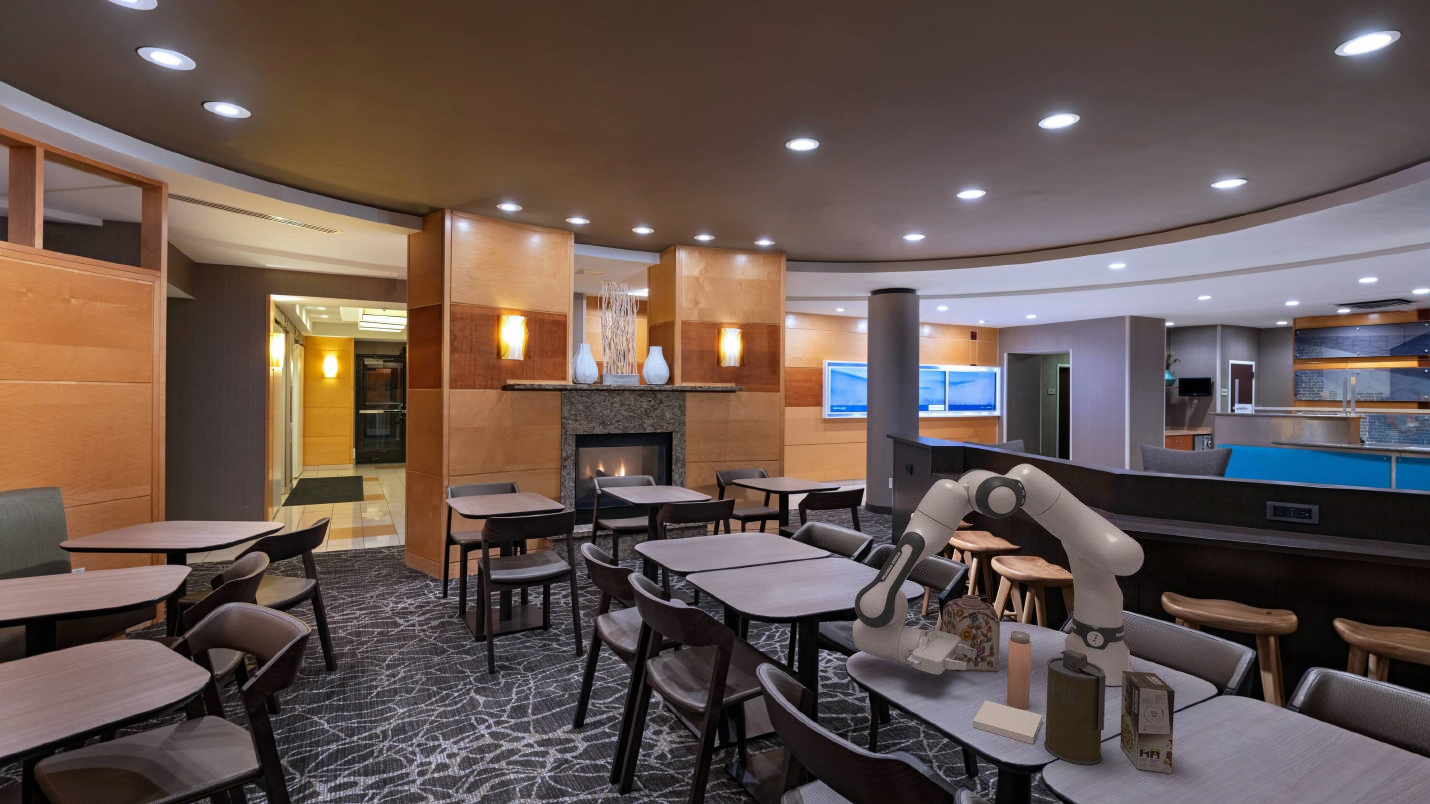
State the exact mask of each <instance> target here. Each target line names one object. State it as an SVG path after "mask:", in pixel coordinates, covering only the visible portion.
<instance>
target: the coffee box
mask: <svg viewBox="0 0 1430 804" xmlns="http://www.w3.org/2000/svg"><path fill="white" fill-rule="evenodd" d="M1175 692H1176V691H1175V690H1174V689H1173V688H1172V687H1171V686H1170V685H1169V684H1167V683H1166V682H1165V681H1164V680H1163V679H1162V678H1160V676H1159V675H1157V674H1156V673H1153V672H1146V671H1145V672H1144V671H1134V672H1129V671H1122V685H1121V701H1120V702H1121V703H1120V704H1121V705H1120V707H1121V708H1120V714H1121V715H1120V744H1119V745H1120V749H1121V750H1122V752H1124V754H1125V755H1126V756H1127V758H1128V759H1129V760H1130V762H1131V763H1132V765H1134V767H1135V768H1136V769H1137V770H1143V771H1149V772H1150V771H1151V772H1158V773H1164V774H1165V773H1166V774H1172V769H1173V768H1172V766H1173V765H1172V764H1173V742H1174V741H1173V740H1174V738H1173V737H1174V736H1173V735H1174V720H1175V719H1174V718H1175V717H1174V716H1175V715H1174V714H1175V694H1176V693H1175Z"/></svg>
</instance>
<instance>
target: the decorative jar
mask: <svg viewBox="0 0 1430 804" xmlns="http://www.w3.org/2000/svg"><path fill="white" fill-rule="evenodd" d="M941 625H942V627H941V629H942V630H941V631H942V632H946V633H950V634H954V635H957V636H959V637H960V638H961V644H964V645H965V646H967V647H969V648H972V649H976V650H977V655H976V657H975V658H972V657H968V655H965V654H957V656H956V657H955V658H954V659H953V660H956V661H959V660H963V661H966V662H967V668H966V670H964V671H965V672H966V671H967V672H968V671H970V672H996V673H997V672H999V667H1000V666H999V665H1000V650H1001V649H1000V645H1001V644H1000V642H1001V641H1000V640H1001V637H1000V635H1001V621H1000V619H999V615H998V614H997V611H996V609H995V608H994V607H993V605H991V604H990V603H988V602H985V601H983V600H982V599H981V596H978V595H975V594H974V595H973V594H964V595H963V596H962V598H955V599H952V600H950V601H948V602H947V603H946V604H945V605H944V606H943V609H942V624H941ZM954 670H955V671H961V670H960V669H954Z"/></svg>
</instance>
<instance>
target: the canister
mask: <svg viewBox="0 0 1430 804" xmlns="http://www.w3.org/2000/svg"><path fill="white" fill-rule="evenodd" d="M1060 654H1061V655H1063V656H1055V657H1051V658H1048V660H1047V661H1046V665H1047V677H1046V678H1047V679H1046V680H1047V684H1046V707H1045V708H1046V711H1045V739H1044V743H1043V745H1044V748H1045V750H1046V751H1048V753H1049V754H1051V756H1055V757H1056V758H1058V759H1060V760H1061V761H1062V760H1063V761H1066V762H1069V763H1071V764H1077V765H1081V766H1082V765H1083V766H1085V765H1095V764H1098V763H1100V762H1101V761H1102V759H1103V755H1102V753H1101V751H1102V750H1101V749H1102V731H1104V730H1105V706H1106V705H1105V704H1106V685H1105V681H1106V676H1105V673H1104V670H1103V669H1102V668H1101V667H1099V666H1097V665H1096V664H1093V663H1090V662H1088V660H1087V655H1085V654H1082V653H1077V652H1075V651H1072V650H1065V651H1064V650H1063V651H1061V652H1060Z"/></svg>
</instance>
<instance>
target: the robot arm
mask: <svg viewBox="0 0 1430 804" xmlns="http://www.w3.org/2000/svg"><path fill="white" fill-rule="evenodd" d="M1020 508H1021V509H1022V510H1023V511H1024V512H1026V514H1027V515H1029V517H1030V518H1033V519H1034V520H1035V522H1037V523H1038V524H1039V525H1040V526H1042V527H1043V529H1045V530H1046V531H1047V532H1049V533H1050V534H1051V535H1052V536H1054V537H1055V538H1057V539H1058V540H1060V541H1061V544H1062V548H1063V549H1064V551H1065V552H1066V555H1067V558H1068V562H1069V566H1070V572H1071V576H1072V580H1073V581H1072V583H1073V589H1074V591H1073V592H1074V597H1073V598H1074V600H1073V615H1072V618H1071V623H1070V625H1071V628H1070V630H1071V633H1069V634H1068V635H1066V636H1065V637H1064V643H1063V645H1064V646H1063V651H1065V650H1072V651H1075V652H1077V653H1082V654H1085V655H1087V660H1088V662H1090V663H1093V664H1096V665H1097V666H1099V667H1101V668H1102V669H1103V670H1104V673H1105V676H1106V681H1105V686H1108V687H1109V686H1111V687H1112V686H1113V687H1114V686H1117V687H1119V686H1122V671H1129V672H1135V671H1134V669H1133V667H1132V662H1131V661H1130V658H1131V657H1130V655H1131V653H1130V652H1131V651H1130V649H1129V647H1128V646H1127V644H1125V642H1124V639H1125V625H1124V624H1123V611H1124V610H1123V609H1124V596H1123V591H1122V590H1121V588H1120V587H1119V584H1118V582H1117V579H1116V576H1120V577H1121V576H1122V577H1127V576H1132V575H1134V574H1135V573H1137V572H1138V571H1139V570H1140V569H1141V567H1142V566H1143V563H1144V559H1145V554H1144V550H1143V548H1142V545H1141V544H1140V543H1139V542H1138V541H1136V540H1135V539H1134V538H1133V537H1130V535H1128V534H1127V533H1125V532H1124V531H1123V530H1121V529H1120V528H1118V527H1117V526H1116V525H1114V524H1113V523H1112V522H1110V521H1109V520H1107V519H1106V518H1105V517H1104V516H1102V515H1100V514H1099V513H1098V512H1096V511H1094V510H1093V509H1091V508H1090V507H1088V506H1087V505H1085V504H1084V503H1083V502H1081V501H1080V500H1079V499H1078V498H1077V497H1076V496H1075V495H1073V494H1072V493H1071V492H1070V491H1069V490H1068V489H1066V488H1065V487H1064V486H1062V485H1061V483H1059V482H1058V481H1057V480H1055V479H1054V478H1053V477H1051V476H1050V475H1049V474H1047V473H1046V472H1044V471H1043V470H1041V469H1039V468H1037V467H1035V466H1034V465H1032V464H1029V463H1021V464H1018V465H1016V466H1014V467H1012V468H1011V469H1010V470H1009V471H1008V472H1007V473H1006V474H1003V475H1002V474H1000V473H996V472H993V471H990V470H987V469H983V468H973V469H970V470H967V471H965V472H964V473H962V474H961V475H960V476H958V477H957V478H955V479H954V480H953V479H948V478H947V479H946V478H942V479H939V480H937V481H936V482H935V483H933V484H932V486H931V487H930V488H929V489H928V491H927V492H926V494H925V495H924V497H923V498H922V499H921V501H920V502H919V504H918V506H917V507H916V509H915V511H914V513H913V514H912V516H911V518H910V520H909V522H908V523H907V526H906V528H905V530H904V532H903V533H902V535H901V537H900V539H899V541H898V542H897V544H896V545H895V547H894V548H893V549H892V551H891V553H890V554H889V556H888V557H887V559H886V561H885V563H884V564H883V565H882V567H881V568H880V570H879V572H878V574H877V575H876V576H875V577H874V579H873V580H871V582H870V583H868V584H867V585H866V586H864V587H863V588H861V589H860V590H859V592H858V593H857V594H856V597H855V600H854V611H855V613H856V616H857V619H856V620H855V621H854V622H853V625H852V630H851V635H852V636H851V637H852V641H853V643H854V646H855V647H856V648H857V649H858V650H859V651H860V652H863V653H865V654H868V655H870V656H874V657H878V658H881V659H891V660H892V659H893V660H895V661H897V662H899V663H900V664H901V663H902V664H907V665H910V666H912V668H914V669H916V670H918V671H923V672H925V673H929V674H931V675H942V673H944V671H945V670H955V669H960V670H959V671H965V670H966V668H967V662H966V661H963V660H959V661H956V660H953V659H954V658H955V657H956V656H957V654H965V655H968V657H972V658H975V657H976V655H977V650H976V649H972V648H969V647H967V646H965V645H964V644H961V638H960V637H959V636H957V635H954V634H950V633H946V632H942V630H937V629H933V630H932V627H931V626H928V625H923V626H919V627H908V626H904V625H905V623H906V620H907V616H908V612H909V602H908V601H909V600H908V599H907V595H906V594H905V593H904V592H903V591H902V590H901V588H902V587H903V586H904V584H905V582H906V580H907V579H908V577H909V575H910V574H911V572H912V571H913V569H914V568H915V567H916V566H917V565H918V564H919V563H921V562H922V561H923V560H925V559H927V558H929V557H931V556H933V555H936V554H938V553H940V552H942V551H943V549H944V548H945V547H946V546H947V544H948V543H949V542H950V541H951V539H952V538H953V536H954V534H955V533H956V531H957V529H958V527H959V525H960V524H961V521H962V520H963V519H964V518H965V516H967V515H968V514H970V513H972V512H973V511H975V512H977V513H979V514H982V515H984V516H986V517H987V518H992V519H997V520H998V519H1005V518H1007V517H1010V516H1012V515H1013V514H1014V513H1016V512H1017V511H1018V510H1019V509H1020Z"/></svg>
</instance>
